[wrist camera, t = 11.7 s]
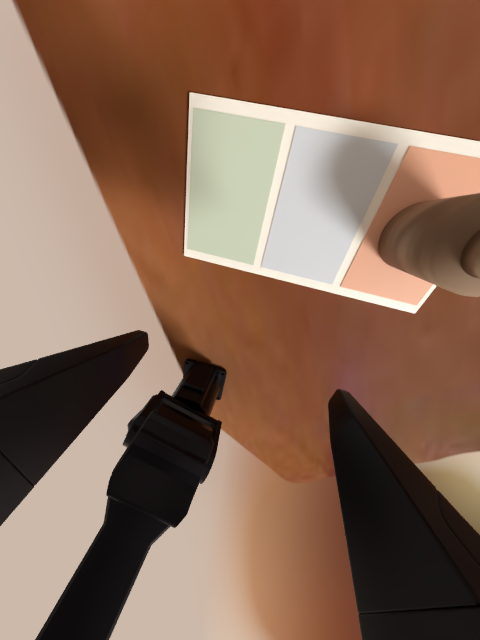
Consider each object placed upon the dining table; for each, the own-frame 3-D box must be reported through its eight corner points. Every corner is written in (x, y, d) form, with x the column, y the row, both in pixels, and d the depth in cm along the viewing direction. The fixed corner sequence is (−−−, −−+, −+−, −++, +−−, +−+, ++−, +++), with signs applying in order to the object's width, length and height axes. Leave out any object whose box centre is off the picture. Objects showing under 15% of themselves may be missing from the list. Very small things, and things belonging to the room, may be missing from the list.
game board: (413, 312, 18) (415, 313, 17) (185, 255, 20) (183, 255, 19) (535, 153, 12) (542, 151, 12) (191, 94, 14) (188, 91, 14)
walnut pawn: (423, 275, 16) (528, 316, 9) (365, 259, 16) (424, 287, 9) (473, 210, 13) (673, 197, 6) (403, 193, 14) (521, 165, 7)
